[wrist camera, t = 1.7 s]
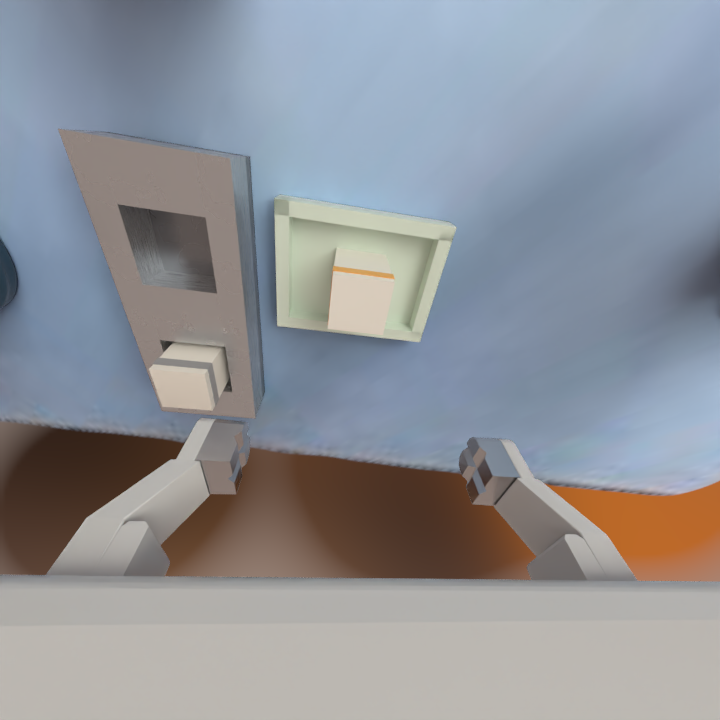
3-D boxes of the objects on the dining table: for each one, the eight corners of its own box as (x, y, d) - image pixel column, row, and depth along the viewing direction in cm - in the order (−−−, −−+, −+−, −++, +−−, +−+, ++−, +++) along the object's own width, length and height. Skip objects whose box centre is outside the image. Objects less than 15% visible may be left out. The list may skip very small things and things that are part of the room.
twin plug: (231, 333, 27) (205, 373, 22) (235, 367, 29) (213, 411, 24) (185, 328, 26) (147, 368, 22) (193, 363, 29) (161, 406, 24)
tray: (448, 221, 23) (456, 227, 21) (415, 331, 28) (419, 342, 27) (279, 194, 21) (274, 198, 20) (281, 315, 27) (277, 326, 25)
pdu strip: (249, 156, 20) (230, 158, 17) (264, 391, 33) (255, 418, 29) (108, 132, 19) (57, 128, 16) (181, 384, 32) (161, 410, 28)
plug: (386, 254, 23) (395, 281, 18) (377, 300, 26) (383, 335, 21) (336, 246, 23) (332, 273, 18) (331, 294, 25) (326, 329, 20)
